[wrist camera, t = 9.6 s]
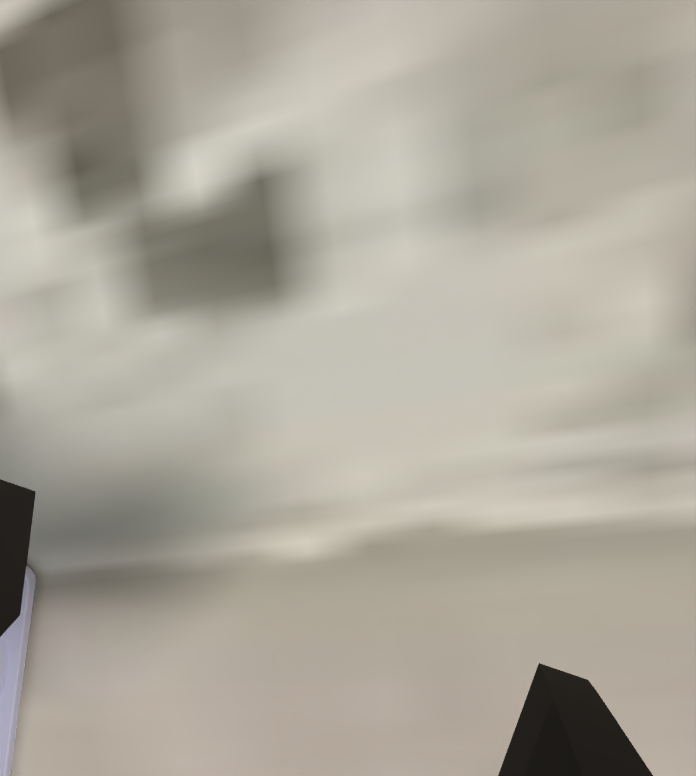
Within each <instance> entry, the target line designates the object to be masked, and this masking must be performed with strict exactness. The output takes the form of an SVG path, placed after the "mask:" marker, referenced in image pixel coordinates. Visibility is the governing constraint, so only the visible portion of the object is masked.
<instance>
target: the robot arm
mask: <svg viewBox="0 0 696 776" xmlns="http://www.w3.org/2000/svg"><path fill="white" fill-rule="evenodd" d="M34 500H35V491H32V490H29V489H27V488H24V487H21V486H18V485H15V484H12V483H9V482H6V481H3V480H0V776H11V768H12V761H13V753H14V745H15V737H16V730H17V722H18V714H19V707H20V699H21V691H22V684H23V676H24V668H25V661H26V653H27V645H28V637H29V630H30V622H31V614H32V607H33V599H34V591H35V584H36V580H35V575H34V573H33V571H32V570H31V569H30V568H29V567H28V566H26V564H27V556H28V548H29V540H30V532H31V524H32V516H33V508H34ZM498 776H653V775H652V773H651V772H650V771H649V769H648V768H647V766H646V765H645V763H644V762H643V760H642V759H641V757H640V756H639V754H638V753H637V751H636V750H635V748H634V747H633V745H632V744H631V742H630V741H629V739H628V738H627V736H626V735H625V733H624V732H623V730H622V729H621V727H620V726H619V724H618V723H617V721H616V720H615V718H614V717H613V715H612V714H611V712H610V711H609V709H608V708H607V706H606V705H605V703H604V702H603V700H602V699H601V697H600V696H599V694H598V693H597V691H596V690H595V689H594V687H593V686H592V685H591V683H590V682H589V681H588V680H586V679H584V678H581V677H578V676H575V675H572V674H569V673H566V672H563V671H560V670H557V669H554V668H551V667H548V666H545V665H542V664H540V663H539V665H538V668H537V670H536V673H535V676H534V679H533V681H532V684H531V687H530V690H529V692H528V695H527V698H526V701H525V703H524V706H523V709H522V712H521V714H520V717H519V720H518V723H517V726H516V728H515V731H514V734H513V737H512V739H511V742H510V745H509V748H508V750H507V753H506V756H505V759H504V761H503V764H502V767H501V770H500V772H499V775H498Z"/></svg>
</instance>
